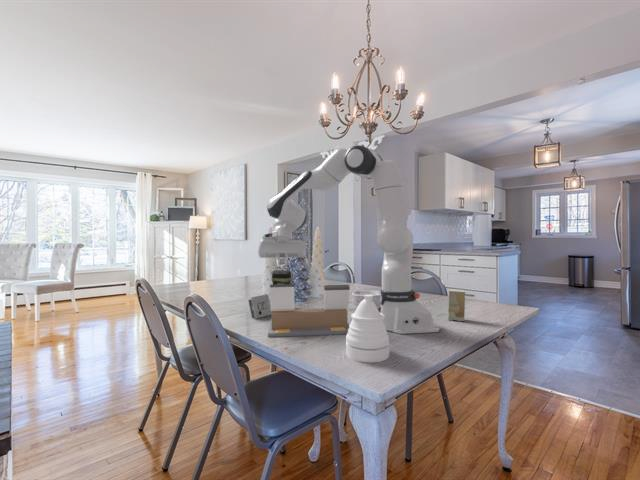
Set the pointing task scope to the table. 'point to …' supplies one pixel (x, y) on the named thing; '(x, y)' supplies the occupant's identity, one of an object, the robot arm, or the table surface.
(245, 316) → the table surface
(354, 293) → the clear glass bowl
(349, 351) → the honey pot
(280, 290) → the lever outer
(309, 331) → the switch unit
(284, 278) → the coffee jar
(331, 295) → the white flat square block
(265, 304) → the electrical switch
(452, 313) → the skincare box
